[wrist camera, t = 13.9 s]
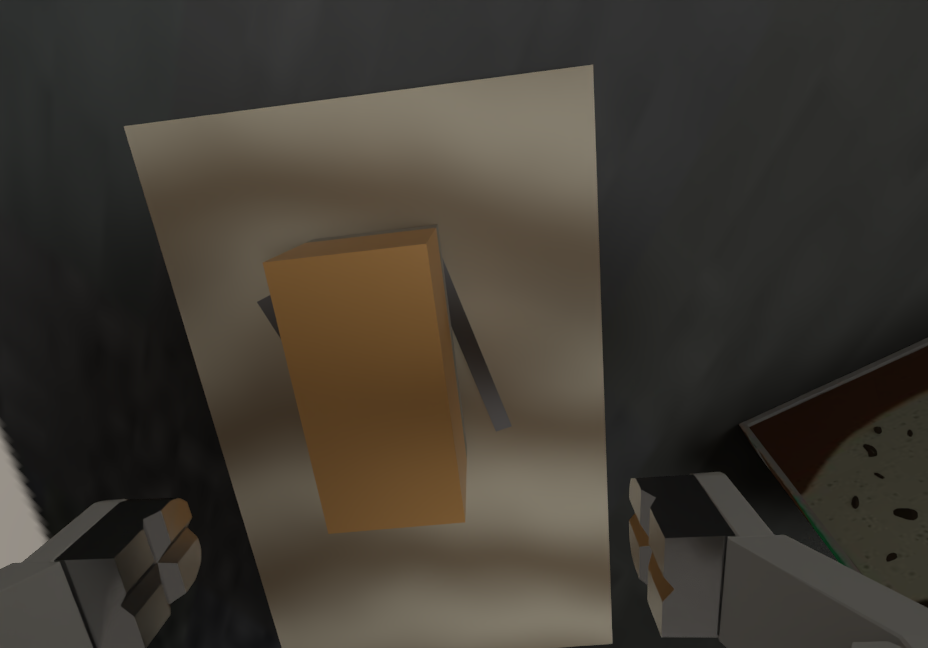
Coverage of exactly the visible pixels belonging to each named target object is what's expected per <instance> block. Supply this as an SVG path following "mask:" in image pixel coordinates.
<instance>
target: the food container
mask: <svg viewBox="0 0 928 648" xmlns="http://www.w3.org/2000/svg"><path fill="white" fill-rule="evenodd" d="M739 426H740V427H741V429H742V431H743V432H744V434H745V436H746V437H747V439H748V441H749V442H750V444H751V446H752V447H753V448H754V450H755V451H756V452H757V454H758V455H759V456H760V458H761V459H762V460H763V462H764V463H765V464H766V466H767V467H768V468H769V470H770V471H771V472H772V474H773V475H774V476H775V478H776V479H777V480H778V482H779V483H780V484H781V486H782V487H783V488H784V490H785V491H786V492H787V493H788V495H789V496H790V497H791V499H792V500H793V501H794V503H795V504H796V505H797V507H798V508H799V509H800V511H801V512H802V513H803V515H804V516H805V517H806V519H807V520H808V521H809V523H810V524H811V525H812V527H813V528H814V529H815V531H816V532H817V533H818V535H819V536H820V537H821V539H822V540H823V541H824V543H825V544H826V545H827V547H828V548H829V549H830V551H831V552H832V553H833V555H834V556H835V557H836V559H837V560H838V561H839V563H841V564H842V565H844V566H846V567H848V568H850V569H852V570H854V571H856V572H858V573H860V574H862V575H864V576H866V577H868V578H870V579H872V580H874V581H876V582H878V583H880V584H882V585H884V586H886V587H888V588H890V589H892V590H893V591H895V592H897V593H899V594H901V595H903V596H905V597H907V598H909V599H911V600H913V601H915V602H917V603H919V604H921V605H923V606H925V607H927V608H928V338H926V339H924V340H921V341H919V342H917V343H915V344H913V345H910V346H908V347H906V348H904V349H902V350H900V351H897V352H895V353H893V354H891V355H889V356H886V357H884V358H882V359H880V360H878V361H876V362H873V363H871V364H869V365H867V366H865V367H862V368H860V369H858V370H856V371H854V372H851V373H849V374H847V375H845V376H843V377H841V378H838V379H836V380H834V381H832V382H830V383H827V384H825V385H823V386H821V387H819V388H817V389H814V390H812V391H810V392H808V393H806V394H803V395H801V396H799V397H797V398H795V399H793V400H790V401H788V402H786V403H784V404H782V405H779V406H777V407H775V408H773V409H771V410H769V411H766V412H764V413H762V414H760V415H758V416H755V417H753V418H751V419H749V420H747V421H744V422H742V423H740V424H739Z"/></svg>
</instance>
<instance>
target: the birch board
mask: <svg viewBox="0 0 928 648" xmlns="http://www.w3.org/2000/svg"><path fill="white" fill-rule="evenodd" d="M124 129H125V132H126V136H127V139H128V142H129V146H130V149H131V152H132V155H133V159H134V162H135V165H136V169H137V172H138V175H139V179H140V182H141V185H142V188H143V192H144V195H145V198H146V202H147V205H148V208H149V212H150V215H151V218H152V221H153V225H154V228H155V231H156V235H157V238H158V241H159V244H160V248H161V251H162V254H163V258H164V261H165V264H166V268H167V271H168V274H169V277H170V281H171V284H172V287H173V291H174V294H175V297H176V301H177V304H178V307H179V310H180V314H181V317H182V320H183V324H184V327H185V330H186V334H187V337H188V340H189V343H190V347H191V350H192V353H193V357H194V360H195V363H196V367H197V370H198V373H199V376H200V380H201V383H202V386H203V390H204V393H205V396H206V400H207V403H208V406H209V409H210V413H211V416H212V419H213V423H214V426H215V429H216V433H217V436H218V439H219V442H220V446H221V449H222V452H223V456H224V459H225V462H226V466H227V469H228V472H229V475H230V479H231V482H232V485H233V489H234V492H235V495H236V498H237V502H238V505H239V508H240V512H241V515H242V518H243V522H244V525H245V528H246V531H247V535H248V538H249V541H250V545H251V548H252V551H253V555H254V558H255V561H256V564H257V568H258V571H259V574H260V578H261V581H262V584H263V588H264V591H265V594H266V597H267V601H268V604H269V607H270V611H271V614H272V617H273V621H274V624H275V627H276V630H277V634H278V637H279V640H280V644H281V647H282V648H559V647H573V646H587V645H602V644H612V618H611V588H610V558H609V528H608V498H607V468H606V438H605V409H604V379H603V349H602V319H601V289H600V259H599V230H598V200H597V170H596V140H595V110H594V80H593V65H587V66H579V67H571V68H564V69H556V70H549V71H541V72H533V73H526V74H518V75H511V76H503V77H495V78H488V79H480V80H473V81H465V82H457V83H450V84H442V85H435V86H427V87H419V88H412V89H404V90H397V91H389V92H381V93H374V94H366V95H359V96H351V97H343V98H336V99H328V100H320V101H313V102H305V103H298V104H290V105H282V106H275V107H267V108H260V109H252V110H244V111H237V112H229V113H222V114H214V115H206V116H199V117H191V118H184V119H176V120H168V121H161V122H153V123H146V124H138V125H130V126H124ZM430 225H438V228H439V236H440V244H441V251H442V259H443V266H444V274H445V282H446V289H447V297H448V305H449V312H450V320H451V328H452V335H453V343H454V350H455V358H456V366H457V373H458V381H459V389H460V396H461V404H462V412H463V419H464V427H465V434H466V442H467V472H466V516H465V522H464V523H452V524H440V525H429V526H417V527H405V528H393V529H381V530H369V531H357V532H346V533H334V534H328V530H327V526H326V522H325V518H324V514H323V510H322V506H321V501H320V497H319V493H318V489H317V485H316V481H315V477H314V473H313V469H312V464H311V460H310V456H309V452H308V448H307V444H306V440H305V436H304V432H303V427H302V423H301V419H300V415H299V411H298V407H297V403H296V399H295V394H294V390H293V386H292V382H291V378H290V374H289V370H288V366H287V362H286V357H285V353H284V349H283V345H282V341H281V337H280V333H279V329H278V324H277V320H276V316H275V312H274V308H273V304H272V300H271V296H270V292H269V287H268V283H267V279H266V275H265V271H264V267H263V262H265V261H267V260H269V259H271V258H273V257H276V256H278V255H280V254H282V253H284V252H287V251H289V250H291V249H293V248H295V247H297V246H300V245H302V244H304V243H306V242H308V241H311V240H313V239H319V238H327V237H336V236H345V235H353V234H362V233H370V232H379V231H387V230H396V229H405V228H413V227H422V226H430Z"/></svg>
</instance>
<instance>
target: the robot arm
mask: <svg viewBox="0 0 928 648" xmlns="http://www.w3.org/2000/svg"><path fill="white" fill-rule="evenodd" d="M629 499H630V501H631V504H632V506H633V509H634V511H635V514H634V515H633V516H632V517H631V519H630V520H629V538H630V546H631V554H632V557H633V561H634V565H635V568H636V571H637V574H638V577H639V579H640V580H642V581H643V582H644V583H646V584H647V585H648V600H647V601H648V603H649V606H650V609H651V611H652V614H653V616H654V619H655V622H656V624H657V627H658V629H659V632H660V635H661V637H719V641H720V642H721V643H723V644H724V645H725V646H726V647H727V648H928V608H927V607H925V606H923V605H921V604H919V603H917V602H915V601H913V600H911V599H909V598H907V597H905V596H903V595H901V594H899V593H897V592H895V591H893V590H892V589H890V588H888V587H886V586H884V585H882V584H880V583H878V582H876V581H874V580H872V579H870V578H868V577H866V576H864V575H862V574H860V573H858V572H856V571H854V570H852V569H850V568H848V567H846V566H844V565H842V564H841V563H839V562H837V561H835V560H833V559H831V558H829V557H827V556H825V555H823V554H821V553H819V552H817V551H815V550H813V549H811V548H809V547H807V546H805V545H803V544H801V543H799V542H797V541H795V540H793V539H792V538H790V537H788V536H786V535H774V534H773V533H772V531H771V530H770V529H769V528H768V526H767V525H766V524H765V523H764V521H763V520H762V519H761V518H760V517H759V515H758V514H757V513H756V512H755V510H754V509H753V508H752V507H751V505H750V504H749V503H748V502H747V501H746V499H745V498H744V497H743V496H742V494H741V493H740V492H739V491H738V489H737V488H736V487H735V486H734V484H733V483H732V482H731V481H730V480H729V478H728V477H727V476H726V475H725V474H723V473H721V472H709V473H696V474H690V475H676V476H659V477H643V478H631V482H630V492H629ZM191 519H192V515H191V512H190V509H189V506H188V503H187V502H186V501H184V500H182V499H180V498H153V499H129V500H127V499H117V500H104V501H100V502H96V503H94V504H92V505H91V506H90V507H89V508H87V509H86V510H85V511H84V512H83V513H81V514H80V515H79V516H78V517H77V518H75V519H74V520H73V521H72V522H70V523H69V524H68V525H67V526H66V527H64V528H63V529H62V530H61V531H60V532H58V533H57V534H56V535H55V536H53V537H52V538H51V539H50V540H49V541H47V542H46V543H45V544H44V545H43V546H41V547H40V548H39V549H38V550H37V551H35V552H34V553H33V554H32V555H30V556H29V557H28V558H27V559H25V560H24V561H23V562H22V563H12V564H10V565H8V566H6V567H4V568H2V569H0V648H147V646H148V645H149V644H150V642H151V641H152V639H153V638H154V637H155V635H156V634H157V633H158V631H159V630H160V628H161V627H162V626H163V624H164V623H165V622H166V620H167V619H168V617H169V616H170V615H171V609H170V604H171V603H172V602H173V601H175V600H176V599H178V598H179V597H181V596H182V595H184V594H185V593H187V591H188V590H189V588H190V587H191V585H192V584H193V582H194V581H195V579H196V577H197V573H198V570H199V567H200V564H201V547H200V543H199V539H198V537H197V536H196V535H195V534H194V533H193V532H191V531H190V530H189V529H188V528H187V527H188V525H189V523H190V521H191Z"/></svg>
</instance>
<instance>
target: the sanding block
mask: <svg viewBox="0 0 928 648" xmlns="http://www.w3.org/2000/svg"><path fill="white" fill-rule="evenodd" d="M263 267H264V271H265V275H266V279H267V283H268V287H269V292H270V296H271V300H272V304H273V308H274V312H275V316H276V320H277V324H278V329H279V333H280V337H281V341H282V345H283V349H284V353H285V357H286V362H287V366H288V370H289V374H290V378H291V382H292V386H293V390H294V394H295V399H296V403H297V407H298V411H299V415H300V419H301V423H302V427H303V432H304V436H305V440H306V444H307V448H308V452H309V456H310V460H311V464H312V469H313V473H314V477H315V481H316V485H317V489H318V493H319V497H320V501H321V506H322V510H323V514H324V518H325V522H326V526H327V530H328V534H334V533H346V532H357V531H369V530H381V529H393V528H405V527H417V526H429V525H440V524H452V523H464V522H465V516H466V472H467V442H466V434H465V427H464V419H463V412H462V404H461V396H460V389H459V381H458V373H457V366H456V358H455V350H454V343H453V335H452V328H451V320H450V312H449V305H448V297H447V289H446V282H445V274H444V266H443V259H442V251H441V244H440V236H439V228H438V225H430V226H422V227H413V228H405V229H396V230H387V231H379V232H370V233H362V234H353V235H345V236H336V237H327V238H319V239H313V240H311V241H308V242H306V243H304V244H302V245H300V246H297V247H295V248H293V249H291V250H289V251H287V252H284V253H282V254H280V255H278V256H276V257H273V258H271V259H269V260H267V261H265V262H263Z"/></svg>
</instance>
